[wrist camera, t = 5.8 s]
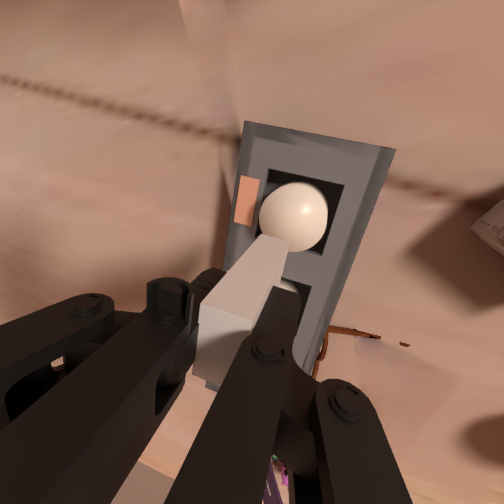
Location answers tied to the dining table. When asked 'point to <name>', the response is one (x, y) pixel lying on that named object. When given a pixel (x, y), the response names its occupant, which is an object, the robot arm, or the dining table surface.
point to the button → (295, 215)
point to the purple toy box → (274, 485)
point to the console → (338, 220)
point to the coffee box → (492, 227)
